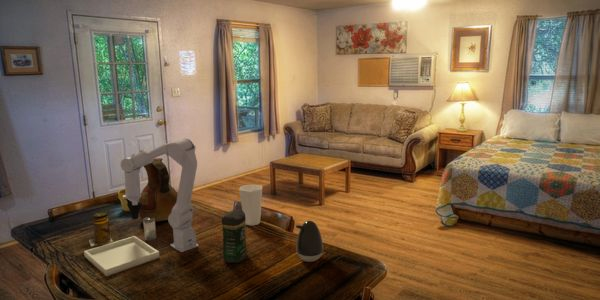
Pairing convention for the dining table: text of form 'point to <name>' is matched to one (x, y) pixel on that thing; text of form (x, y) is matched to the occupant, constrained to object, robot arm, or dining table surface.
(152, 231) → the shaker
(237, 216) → the green squeeze bottle
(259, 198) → the cup
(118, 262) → the tray
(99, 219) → the condiment
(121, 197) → the plant pot
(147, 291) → the dining table surface
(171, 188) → the ceramic pitcher
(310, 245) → the pump dispenser
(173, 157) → the robot arm
